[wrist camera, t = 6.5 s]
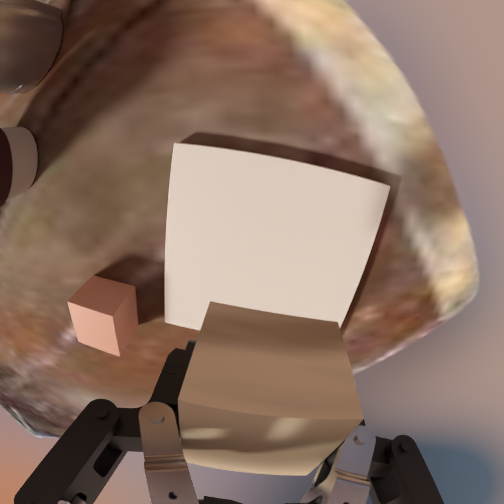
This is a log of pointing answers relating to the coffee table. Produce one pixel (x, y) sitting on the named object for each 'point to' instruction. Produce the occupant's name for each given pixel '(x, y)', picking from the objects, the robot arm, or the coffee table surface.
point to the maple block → (266, 392)
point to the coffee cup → (16, 162)
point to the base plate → (265, 234)
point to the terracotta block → (104, 314)
